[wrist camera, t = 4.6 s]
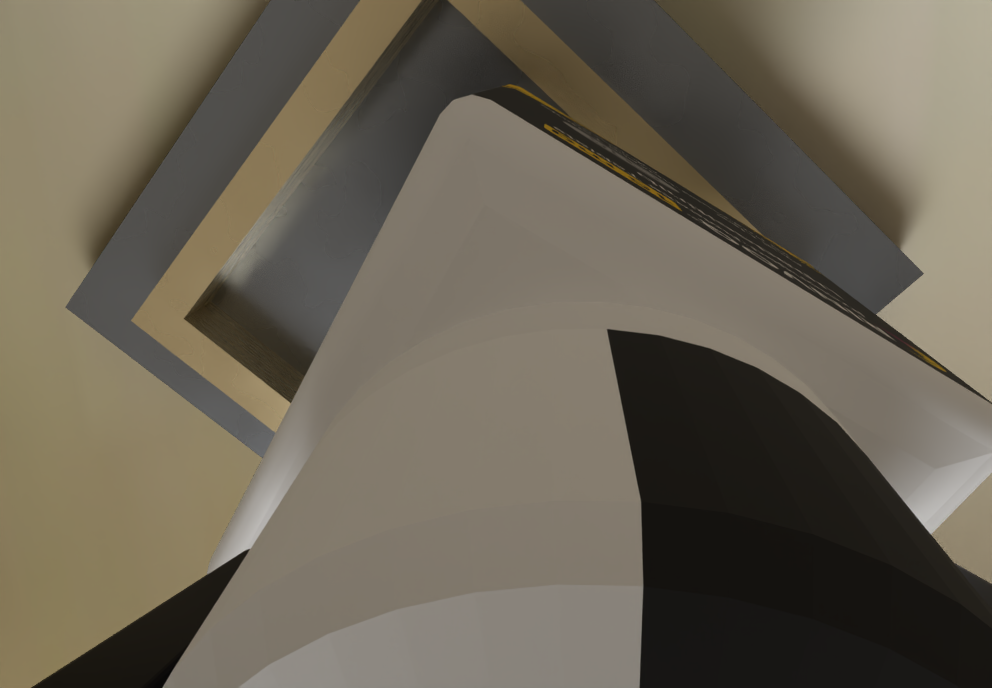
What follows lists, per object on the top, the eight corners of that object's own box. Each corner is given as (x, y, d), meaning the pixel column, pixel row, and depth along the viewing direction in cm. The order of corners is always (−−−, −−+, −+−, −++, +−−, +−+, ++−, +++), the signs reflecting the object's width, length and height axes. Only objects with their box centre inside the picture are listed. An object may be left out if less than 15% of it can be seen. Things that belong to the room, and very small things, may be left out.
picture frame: (897, 259, 19) (954, 290, 16) (499, 604, 24) (491, 673, 21) (437, -205, 16) (410, -263, 14) (97, 292, 21) (28, 324, 19)
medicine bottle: (817, 267, 14) (1793, 999, 3) (616, 525, 17) (742, 1459, 5) (503, 75, 13) (240, 98, 2) (342, 376, 16) (-173, 1111, 5)
